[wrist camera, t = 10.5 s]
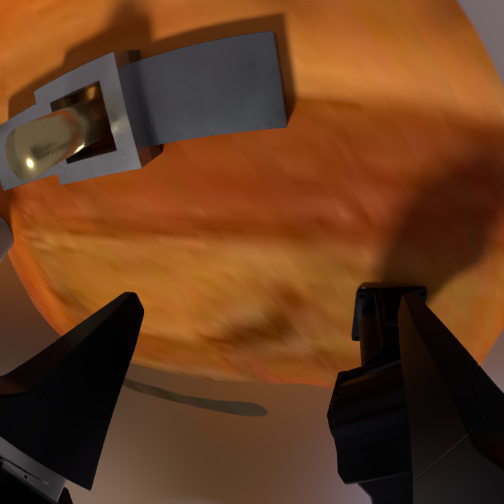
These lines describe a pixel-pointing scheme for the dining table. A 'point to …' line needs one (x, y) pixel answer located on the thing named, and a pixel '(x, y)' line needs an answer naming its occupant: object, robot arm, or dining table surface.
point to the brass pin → (56, 137)
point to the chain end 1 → (118, 110)
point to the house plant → (5, 238)
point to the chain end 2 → (207, 90)
